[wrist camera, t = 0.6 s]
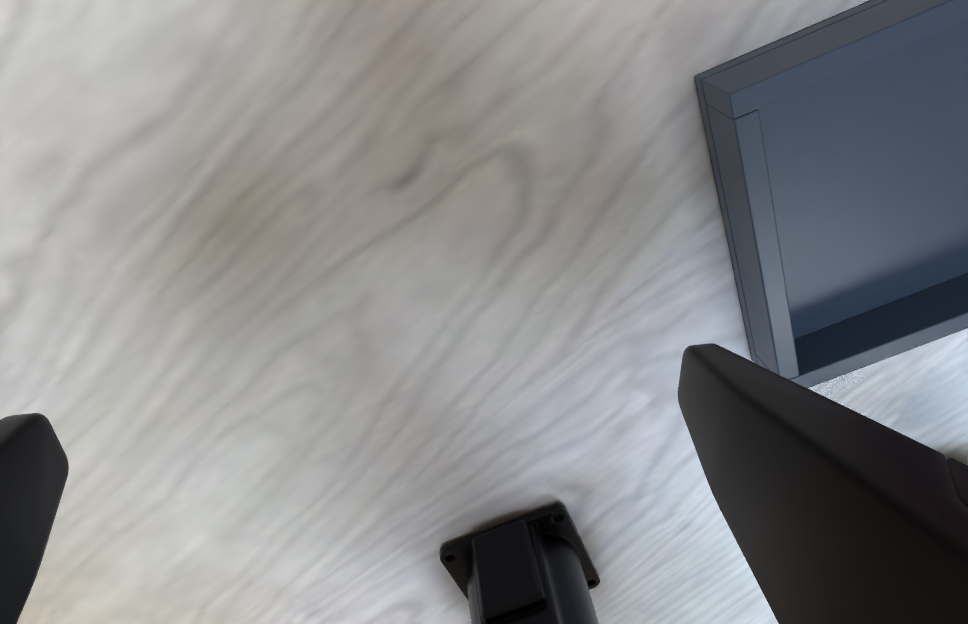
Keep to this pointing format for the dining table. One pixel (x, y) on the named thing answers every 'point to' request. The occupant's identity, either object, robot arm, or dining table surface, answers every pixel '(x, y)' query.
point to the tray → (846, 185)
